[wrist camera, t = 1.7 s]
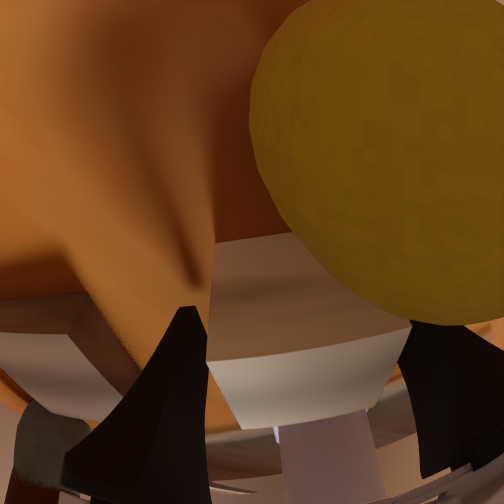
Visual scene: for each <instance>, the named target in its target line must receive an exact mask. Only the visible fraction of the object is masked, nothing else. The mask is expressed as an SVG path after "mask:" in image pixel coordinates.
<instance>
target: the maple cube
mask: <svg viewBox="0 0 504 504" xmlns="http://www.w3.org/2000/svg"><path fill="white" fill-rule="evenodd" d="M411 328H412V325H411V323H410V321H409V319H405V318H401V317H398V316H396V315H393V314H391V313H388V312H386V311H384V310H381V309H380V308H378V307H377V306H375V305H373V304H372V303H370V302H369V301H367V300H365V299H364V298H362V297H361V296H359V295H357V294H356V293H354V292H353V291H351V290H350V289H349V288H347V287H346V286H344V285H343V284H341V283H340V282H339V281H338V280H336V279H335V278H334V277H333V276H332V275H331V274H330V273H329V272H328V271H327V270H326V269H325V268H324V267H323V266H322V265H321V264H320V263H319V261H318V260H317V259H316V258H315V257H314V256H313V255H312V253H311V252H310V251H309V250H308V249H307V248H306V247H305V245H304V244H303V243H302V242H301V241H300V240H299V239H298V237H297V236H296V235H295V234H294V233H293V232H290V233H283V234H276V235H269V236H262V237H255V238H248V239H241V240H234V241H228V242H221V243H215V253H214V264H213V274H212V285H211V297H210V309H209V322H208V336H207V351H206V363H207V365H208V367H209V369H210V371H211V373H212V375H213V377H214V379H215V381H216V383H217V385H218V387H219V388H220V390H221V392H222V394H223V396H224V398H225V400H226V401H227V403H228V405H229V407H230V409H231V410H232V412H233V414H234V416H235V418H236V419H237V421H238V423H239V425H240V426H241V428H242V430H243V429H256V428H266V427H275V426H283V425H290V424H297V423H303V422H309V421H315V420H320V419H325V418H330V417H335V416H340V415H344V414H348V413H353V412H357V411H361V410H364V409H368V408H372V407H374V406H375V404H376V402H377V401H378V399H379V397H380V395H381V393H382V391H383V389H384V387H385V385H386V384H387V382H388V380H389V378H390V376H391V374H392V371H393V369H394V367H395V365H396V363H397V361H398V359H399V357H400V354H401V352H402V350H403V348H404V345H405V343H406V341H407V338H408V336H409V333H410V331H411Z"/></svg>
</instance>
